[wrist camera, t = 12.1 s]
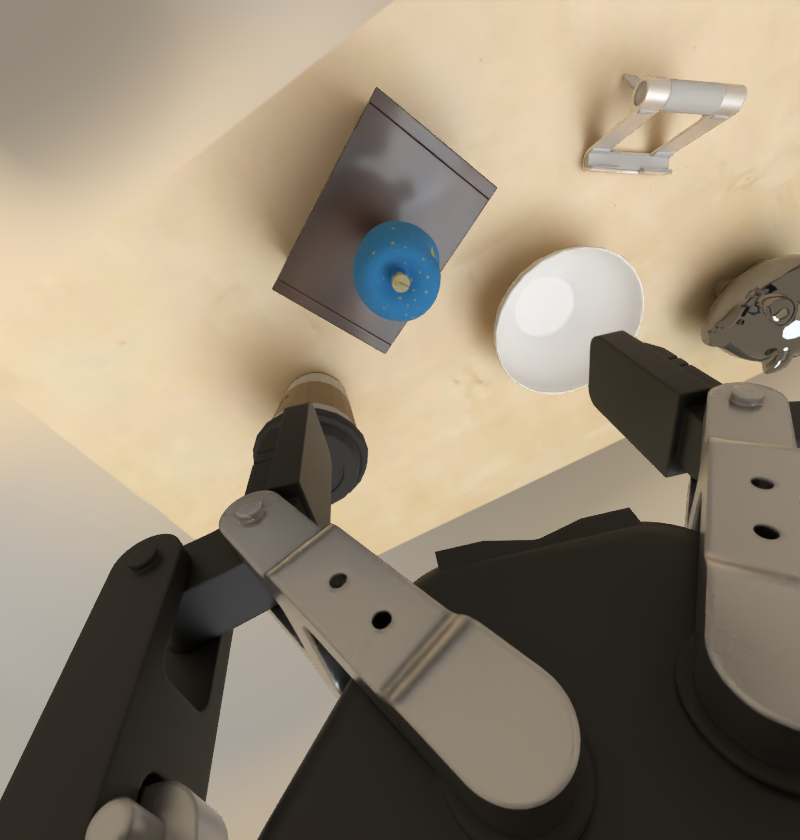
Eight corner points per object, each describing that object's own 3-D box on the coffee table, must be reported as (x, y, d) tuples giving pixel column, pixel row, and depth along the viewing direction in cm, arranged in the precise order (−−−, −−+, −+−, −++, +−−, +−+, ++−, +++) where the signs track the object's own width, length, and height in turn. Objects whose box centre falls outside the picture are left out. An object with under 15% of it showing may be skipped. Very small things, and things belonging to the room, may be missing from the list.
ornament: (404, 279, 36) (439, 347, 24) (343, 264, 35) (345, 327, 23) (422, 212, 34) (471, 249, 21) (357, 194, 33) (367, 221, 20)
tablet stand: (580, 170, 45) (625, 174, 38) (602, 72, 41) (657, 56, 33) (657, 174, 46) (716, 179, 39) (687, 80, 42) (758, 65, 35)
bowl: (634, 252, 50) (674, 266, 44) (574, 377, 57) (601, 404, 52) (505, 218, 46) (529, 229, 40) (460, 357, 54) (475, 382, 48)
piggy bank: (670, 282, 52) (745, 313, 42) (799, 222, 50) (909, 239, 40) (679, 359, 58) (747, 401, 48) (795, 308, 56) (891, 341, 46)
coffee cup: (274, 348, 51) (251, 413, 38) (370, 363, 53) (380, 430, 40) (266, 430, 56) (245, 511, 43) (354, 441, 59) (358, 521, 46)
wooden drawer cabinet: (287, 258, 46) (271, 289, 36) (367, 102, 40) (376, 86, 30) (376, 312, 50) (385, 354, 40) (461, 179, 44) (497, 187, 34)
